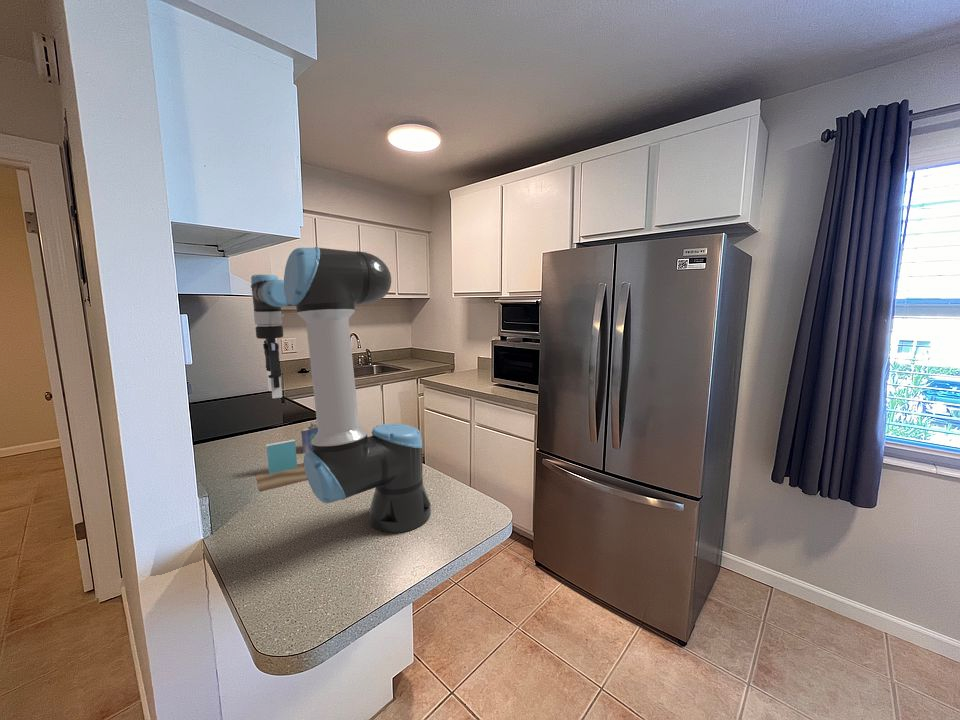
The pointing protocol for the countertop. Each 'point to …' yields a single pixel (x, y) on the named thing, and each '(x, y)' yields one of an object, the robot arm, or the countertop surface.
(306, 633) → the countertop surface
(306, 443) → the flask
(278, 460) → the tile
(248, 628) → the countertop surface
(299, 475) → the board
